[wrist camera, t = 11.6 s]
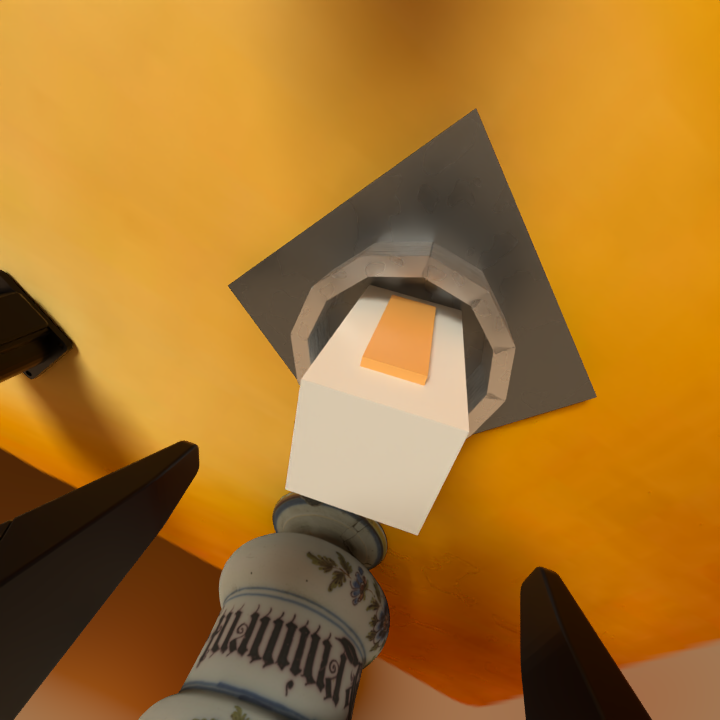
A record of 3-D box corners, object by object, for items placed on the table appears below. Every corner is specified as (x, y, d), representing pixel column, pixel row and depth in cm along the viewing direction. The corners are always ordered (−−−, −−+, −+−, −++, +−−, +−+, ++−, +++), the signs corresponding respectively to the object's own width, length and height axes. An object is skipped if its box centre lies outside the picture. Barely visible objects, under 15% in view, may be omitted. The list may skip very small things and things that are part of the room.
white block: (431, 387, 19) (417, 535, 11) (351, 362, 19) (285, 489, 12) (464, 303, 16) (474, 422, 9) (370, 277, 17) (302, 367, 9)
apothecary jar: (377, 474, 24) (251, 990, 9) (415, 580, 29) (374, 1033, 14) (237, 481, 28) (-15, 846, 13) (291, 572, 33) (153, 919, 18)
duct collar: (365, 456, 24) (350, 504, 20) (237, 280, 20) (192, 303, 16) (589, 386, 18) (622, 437, 15) (474, 111, 14) (481, 93, 10)
